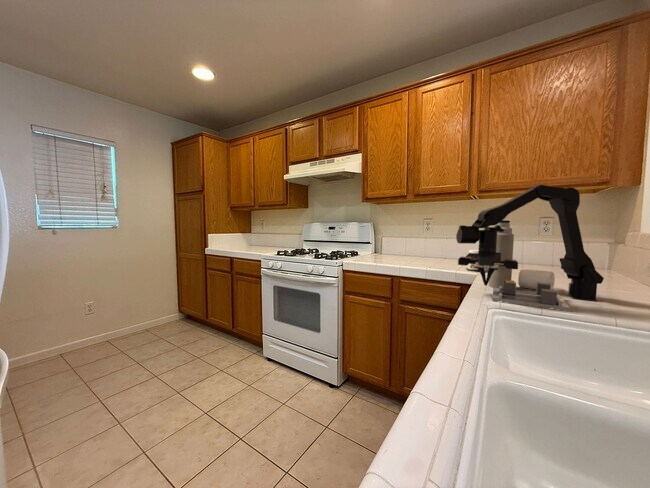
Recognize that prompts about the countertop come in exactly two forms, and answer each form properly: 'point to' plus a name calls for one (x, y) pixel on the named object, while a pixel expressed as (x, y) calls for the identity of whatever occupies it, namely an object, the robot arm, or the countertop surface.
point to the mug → (535, 278)
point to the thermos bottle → (503, 255)
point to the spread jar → (473, 255)
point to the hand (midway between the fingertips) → (485, 285)
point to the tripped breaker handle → (509, 287)
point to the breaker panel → (533, 297)
